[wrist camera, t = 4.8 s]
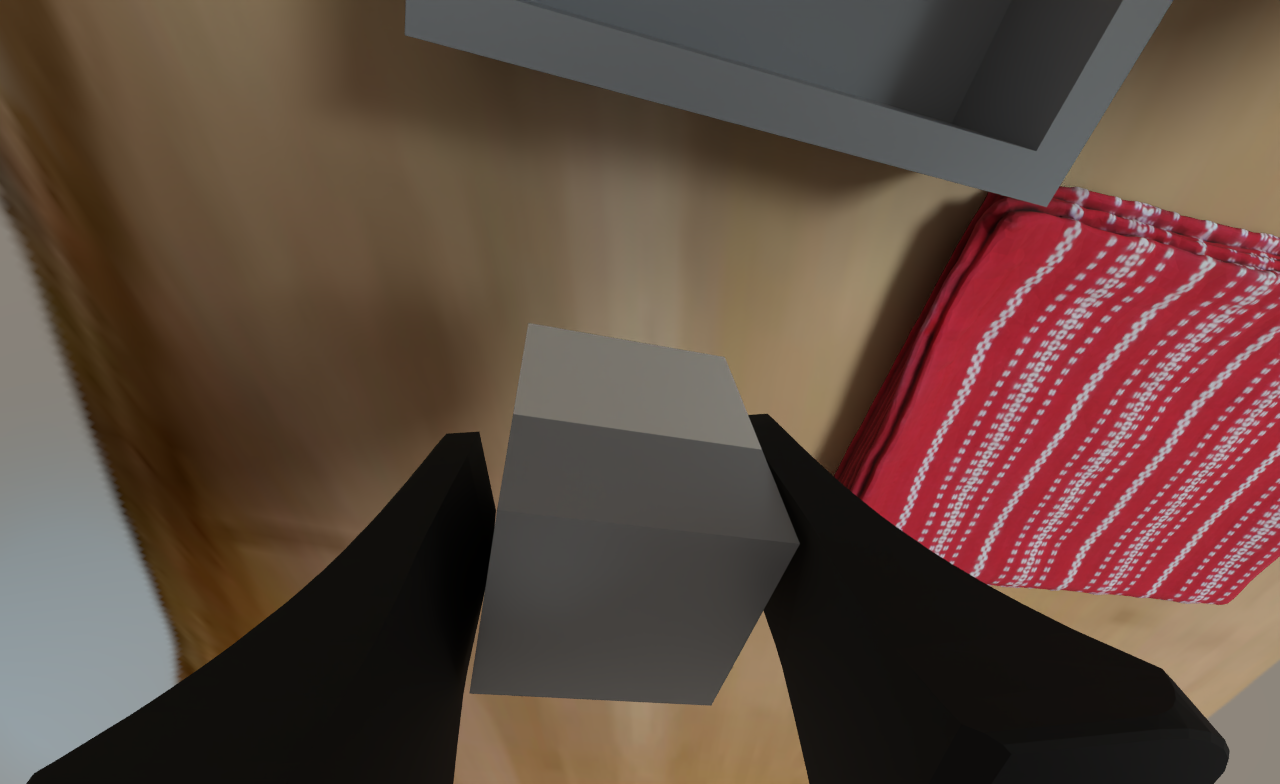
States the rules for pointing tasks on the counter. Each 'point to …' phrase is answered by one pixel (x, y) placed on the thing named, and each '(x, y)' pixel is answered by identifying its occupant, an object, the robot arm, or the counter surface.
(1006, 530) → the dish towel
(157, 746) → the robot arm
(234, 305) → the counter surface
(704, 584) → the grey block
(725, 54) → the box
